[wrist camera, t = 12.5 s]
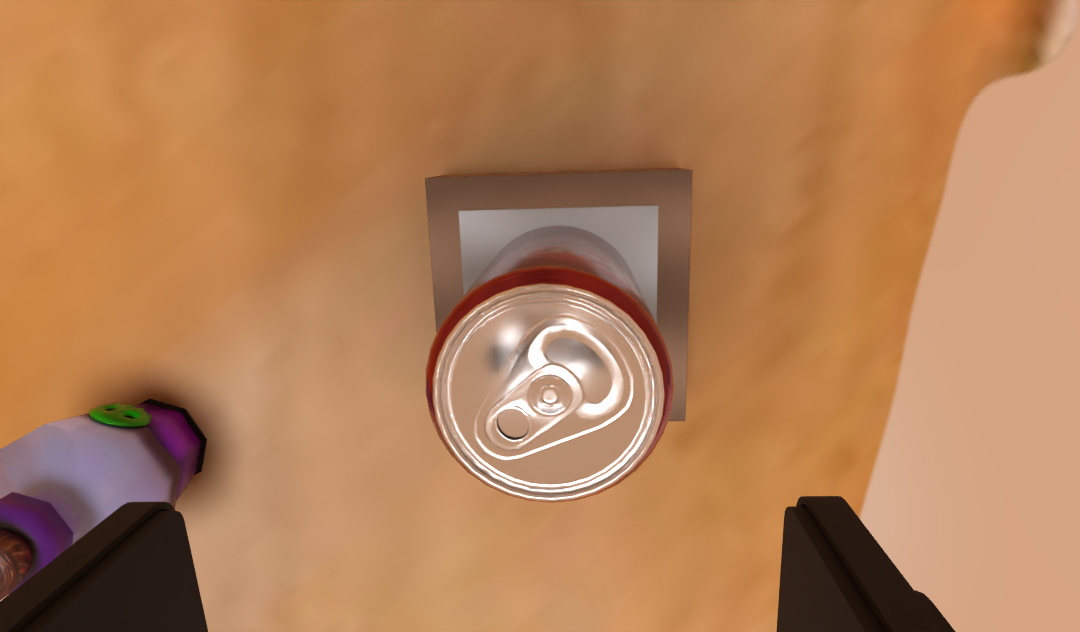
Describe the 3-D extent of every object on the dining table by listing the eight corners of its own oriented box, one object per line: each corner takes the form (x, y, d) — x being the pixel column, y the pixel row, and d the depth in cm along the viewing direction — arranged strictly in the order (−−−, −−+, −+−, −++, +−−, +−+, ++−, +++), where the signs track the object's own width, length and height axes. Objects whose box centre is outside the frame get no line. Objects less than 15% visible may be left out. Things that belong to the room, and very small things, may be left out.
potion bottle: (213, 368, 36) (40, 470, 24) (246, 503, 38) (101, 656, 26) (73, 380, 37) (-162, 485, 25) (113, 512, 39) (-87, 665, 27)
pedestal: (443, 175, 32) (423, 178, 28) (678, 168, 32) (693, 170, 27) (457, 393, 35) (442, 424, 31) (673, 391, 35) (686, 423, 30)
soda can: (577, 191, 28) (577, 216, 16) (668, 319, 29) (728, 428, 18) (450, 284, 29) (367, 369, 18) (542, 403, 31) (521, 554, 19)
